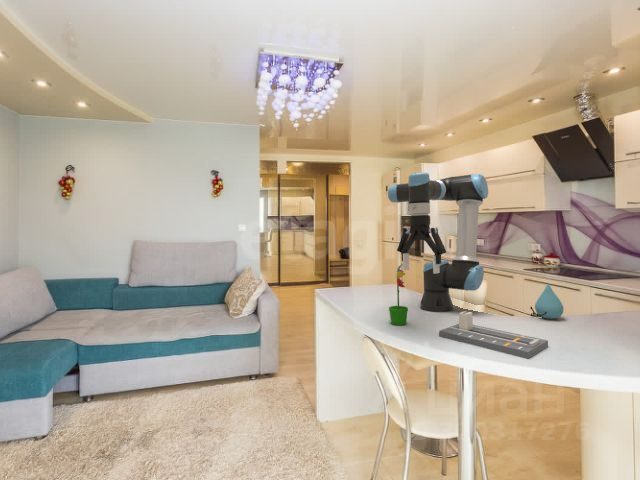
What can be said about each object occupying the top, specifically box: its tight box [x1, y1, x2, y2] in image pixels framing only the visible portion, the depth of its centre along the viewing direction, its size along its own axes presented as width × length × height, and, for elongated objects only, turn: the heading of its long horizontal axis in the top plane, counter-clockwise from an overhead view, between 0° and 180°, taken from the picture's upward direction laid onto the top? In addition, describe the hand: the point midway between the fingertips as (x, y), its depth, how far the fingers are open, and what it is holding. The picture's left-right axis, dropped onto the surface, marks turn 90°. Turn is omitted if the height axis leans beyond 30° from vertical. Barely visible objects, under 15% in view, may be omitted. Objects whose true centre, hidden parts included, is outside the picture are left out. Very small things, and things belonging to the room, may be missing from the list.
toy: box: [530, 283, 564, 320], centre depth 149 cm, size 15×12×15 cm
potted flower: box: [388, 263, 409, 326], centre depth 146 cm, size 9×8×25 cm
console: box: [438, 323, 549, 360], centre depth 122 cm, size 16×30×3 cm, turn 39°
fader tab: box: [458, 311, 474, 331], centre depth 129 cm, size 4×3×6 cm
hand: (420, 271), depth 132 cm, fingers open, 13 cm apart
